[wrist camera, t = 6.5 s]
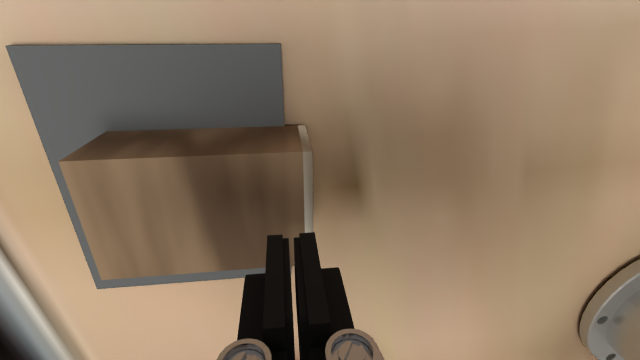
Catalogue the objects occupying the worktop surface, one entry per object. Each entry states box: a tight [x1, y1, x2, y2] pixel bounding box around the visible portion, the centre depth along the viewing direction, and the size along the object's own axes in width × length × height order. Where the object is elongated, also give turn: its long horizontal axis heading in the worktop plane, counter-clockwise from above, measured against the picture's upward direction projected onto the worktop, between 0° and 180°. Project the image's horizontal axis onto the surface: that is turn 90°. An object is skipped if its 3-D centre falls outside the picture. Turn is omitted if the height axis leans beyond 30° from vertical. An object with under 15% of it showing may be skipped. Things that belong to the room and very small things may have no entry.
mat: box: [6, 44, 291, 289], centre depth 18 cm, size 12×14×1 cm
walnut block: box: [58, 125, 313, 280], centre depth 17 cm, size 4×6×10 cm
